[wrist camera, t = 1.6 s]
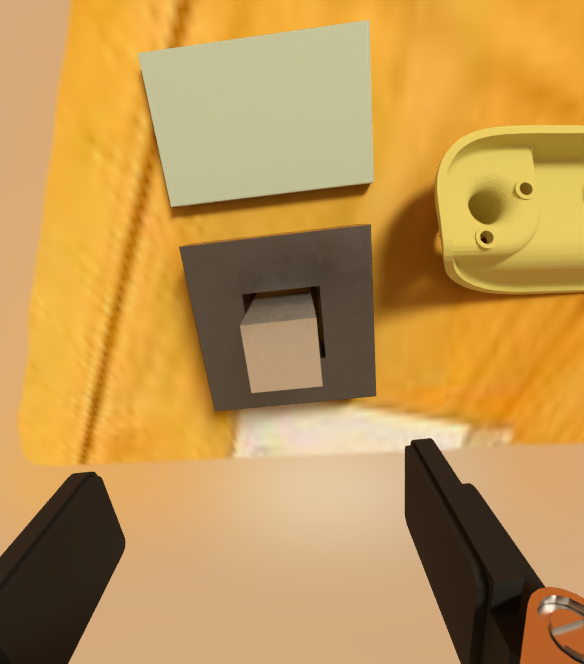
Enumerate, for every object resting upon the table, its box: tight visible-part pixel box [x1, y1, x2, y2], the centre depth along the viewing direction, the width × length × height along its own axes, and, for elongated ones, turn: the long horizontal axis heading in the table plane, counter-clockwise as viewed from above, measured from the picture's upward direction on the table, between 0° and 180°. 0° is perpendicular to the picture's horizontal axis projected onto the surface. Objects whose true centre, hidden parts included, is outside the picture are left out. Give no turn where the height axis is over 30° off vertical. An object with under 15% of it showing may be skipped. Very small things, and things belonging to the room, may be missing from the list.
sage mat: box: [138, 20, 374, 207], centre depth 24 cm, size 16×10×1 cm, turn 96°
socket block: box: [179, 224, 376, 411], centre depth 28 cm, size 14×14×4 cm
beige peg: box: [240, 287, 323, 393], centre depth 25 cm, size 5×5×10 cm
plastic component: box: [435, 125, 584, 294], centre depth 25 cm, size 20×7×10 cm
